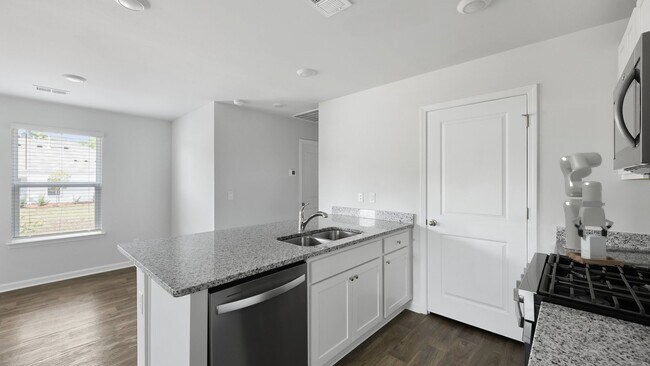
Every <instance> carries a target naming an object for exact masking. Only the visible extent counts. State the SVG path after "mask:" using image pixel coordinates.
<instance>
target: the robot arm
mask: <svg viewBox="0 0 650 366" xmlns="http://www.w3.org/2000/svg"><path fill="white" fill-rule="evenodd" d="M602 161H603V158H602V155H601V154H600V153H598V152H595V151H594V152H593V151H592V152H576V153H573V154H571V155H564V156H562V157H561V158H560V159H559V167H560V170H561V172H562V174H563V177H564V190H565V195H566V196H567V197H569V198H571V199H566V200H564V201H563V203H562V204H563V212H564V221H565V223H564V224H565V225H564V226H565V244H563V245H562V248H564V249H568V250H575V251H581V237H583V235H586V227H595V228H596V227H597V228H599V227H600V228H601V230H600V236H603V237H606V238H607V237H608V231H609V230H610V229H611V228H612V226H613V225H614V223H615V222H614V221H611V220H609V219H607V218H606V212H605V209H604V208H603V206H606V202H603V201H602V200H603V197H602V193H603V192H602V191H603V187H602V183H601V182H600V181H584V180H582V179H584V178H587V177H589V176H590V175H591V174H592V173H593V169H594V168H598V167H600V166H601V165H602V163H603V162H602ZM579 198H581V199H579ZM607 223H608V224H607Z"/></svg>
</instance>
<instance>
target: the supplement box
mask: <svg viewBox="0 0 650 366" xmlns="http://www.w3.org/2000/svg"><path fill="white" fill-rule="evenodd" d="M606 239H607V236H606V237H603V236H601V235H597V234H585V235H583V237H581V250H580V253H581V257H582V258H585V259H599V260H606V255H607V240H606Z"/></svg>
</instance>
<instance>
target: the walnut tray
mask: <svg viewBox="0 0 650 366" xmlns="http://www.w3.org/2000/svg"><path fill="white" fill-rule="evenodd" d="M565 256H566V257H567V256H569V257H568V258H570V257H571V258H570V259H572V260H574V261H577V262H578V263H580V264H582V265H586V264H585V263H586V262H588V263H589V264H588V265H593V264H598V266H606V265H607V266H608V267H616V266H615V265H620V266H621V267H620V268H623V267H624V266H625V264H624V261H623V260H621V259H618V258H614V257H612V256H609V255H607V254H606V260H599V259H585V258H582V257H581V251H580V252H579V251H566V255H565Z"/></svg>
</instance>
